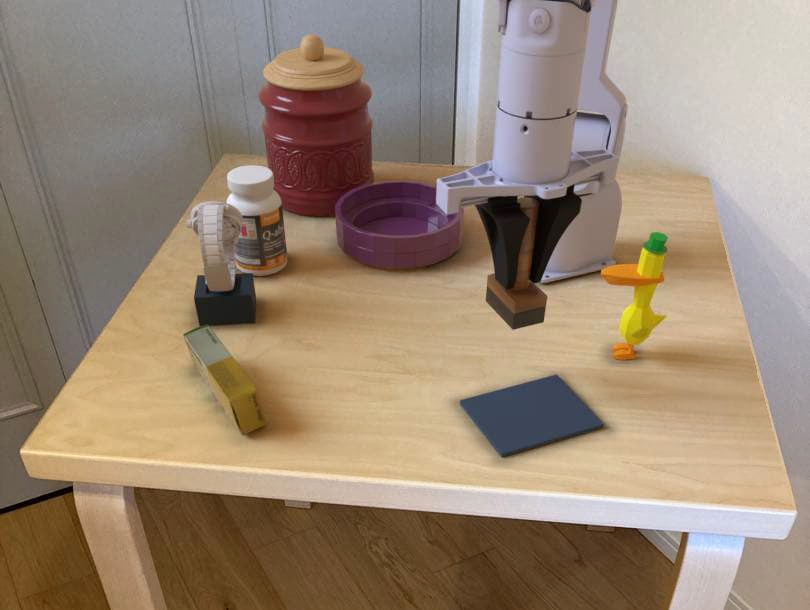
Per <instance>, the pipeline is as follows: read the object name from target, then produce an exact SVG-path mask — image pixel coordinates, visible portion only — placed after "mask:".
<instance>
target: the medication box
mask: <svg viewBox="0 0 810 610" xmlns="http://www.w3.org/2000/svg"><path fill="white" fill-rule="evenodd" d="M182 335H183V338H184V341H185V345H186V346H187V349H188V351H189V354H190V357H191V359H192V362H193V365H194V367H195V369H196V370H197V371H198V373H199V374H200V376H201V378H202V379H203V380H204V382H205V383H206V385H207V386H208V388H209V389H210V391H211V392H212V393H213V395H214V397H215V398H216V400H217V402H219V404H220V405H221V407H222V408H223V410H224V411H225V413H226V414H227V416H228V417H229V418H230V420H231V421H232V423H233V425H234V426H235V427H236V429H237V430H238V431H239V433H240V434H241V435H242V436H244V435H246V434H249V433H251V432H254V431H255V430H256V431H257V429H260V428H262V427H264V426H266V425H268V420H267V417H266V414H265V410H264V407H263V404H262V401H261V398H260V394H259V391H258V389H257V388H256V387H255V385H254V384H253V382H252V381H251V380H250V378H249V377H248V375H247V374H246V373H245V372H244V370H243V369H242V368H241V366H240V365H239V363H238V362H237V361H236V360H235V358H234V357H233V356H232V354H231V353H230V352H229V350H228V349H227V348H226V347H225V345H224V344H223V342H222V341H221V340H220V338H219V337H218V336H217V334H216V333H215V331H213V329H212V328H211V327H210V325H208V324H206V325H204V326H197V327H196V328H193V329H191V330H189V331H186V332H185V333H183V334H182Z"/></svg>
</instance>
